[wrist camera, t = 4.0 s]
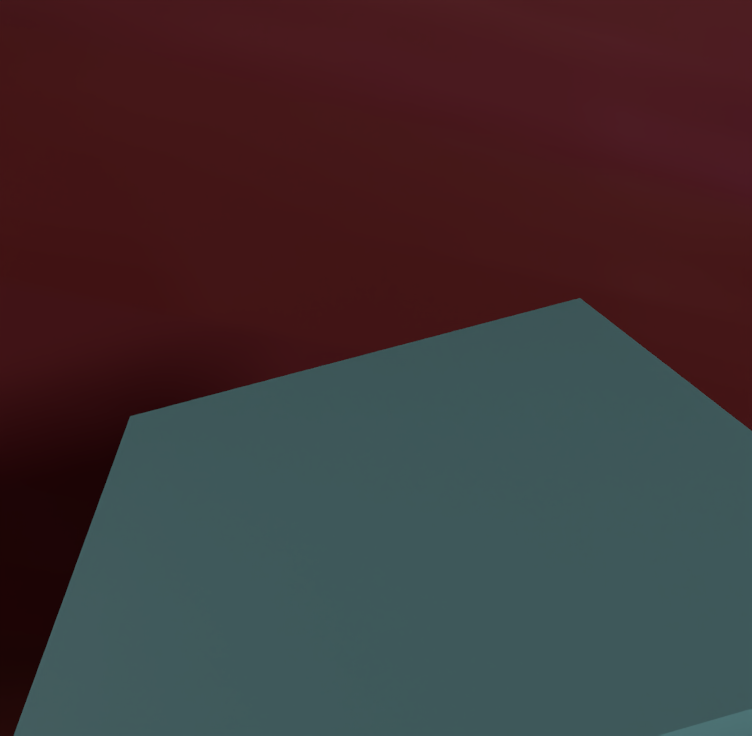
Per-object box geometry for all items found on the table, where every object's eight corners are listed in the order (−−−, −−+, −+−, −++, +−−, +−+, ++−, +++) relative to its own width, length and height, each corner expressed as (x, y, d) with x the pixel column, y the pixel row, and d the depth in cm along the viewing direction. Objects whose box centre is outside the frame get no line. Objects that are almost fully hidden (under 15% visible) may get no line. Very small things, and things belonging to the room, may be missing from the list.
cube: (615, 632, 10) (909, 1117, 5) (262, 732, 10) (262, 1322, 5) (579, 298, 8) (1012, 633, 3) (130, 416, 8) (-64, 946, 3)
